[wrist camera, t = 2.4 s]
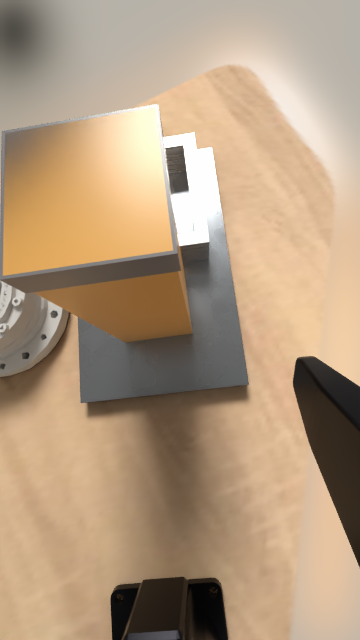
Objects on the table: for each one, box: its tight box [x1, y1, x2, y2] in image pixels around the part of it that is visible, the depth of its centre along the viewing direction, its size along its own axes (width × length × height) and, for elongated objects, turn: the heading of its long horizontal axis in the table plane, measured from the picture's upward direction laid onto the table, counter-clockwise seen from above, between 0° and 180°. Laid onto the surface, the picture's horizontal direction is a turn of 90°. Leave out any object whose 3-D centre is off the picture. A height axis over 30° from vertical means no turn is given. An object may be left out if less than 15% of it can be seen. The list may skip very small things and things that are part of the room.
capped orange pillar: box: [0, 104, 192, 342], centre depth 14 cm, size 5×5×12 cm
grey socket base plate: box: [78, 133, 249, 403], centre depth 20 cm, size 18×11×4 cm, turn 6°
